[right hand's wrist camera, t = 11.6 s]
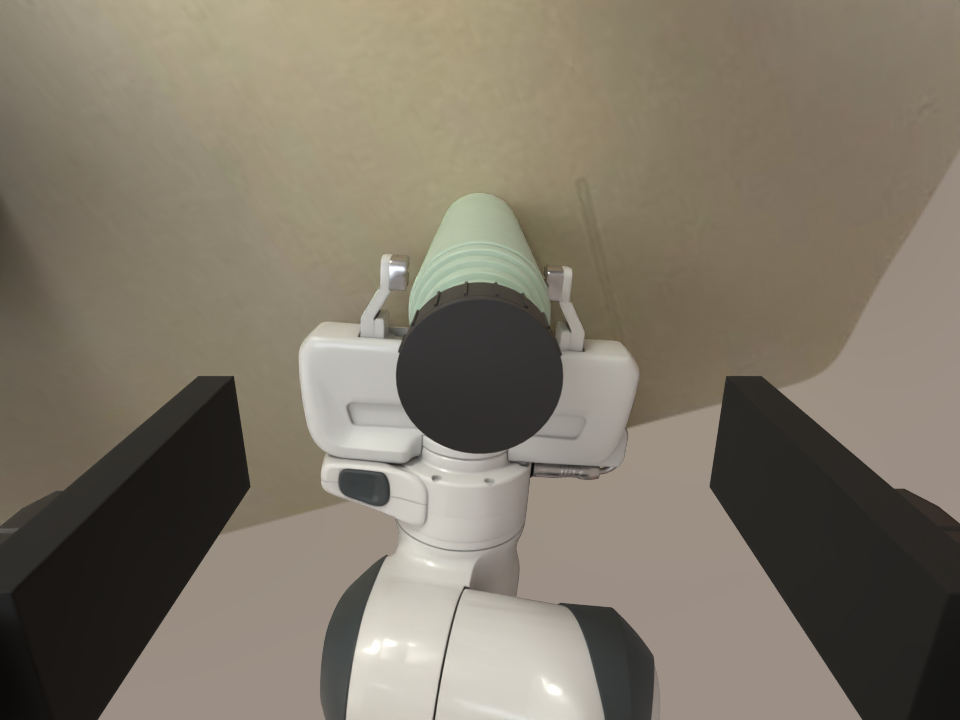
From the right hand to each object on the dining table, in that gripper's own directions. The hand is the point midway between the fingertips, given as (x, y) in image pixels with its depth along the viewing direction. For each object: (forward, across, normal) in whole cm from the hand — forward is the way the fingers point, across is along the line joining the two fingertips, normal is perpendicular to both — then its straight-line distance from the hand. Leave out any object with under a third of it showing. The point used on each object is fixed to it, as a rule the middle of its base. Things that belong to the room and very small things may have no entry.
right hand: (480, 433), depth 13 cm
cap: (+3, 0, 0) cm, 3 cm away
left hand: (+23, 0, +1) cm, 23 cm away
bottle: (+29, 0, 0) cm, 29 cm away
